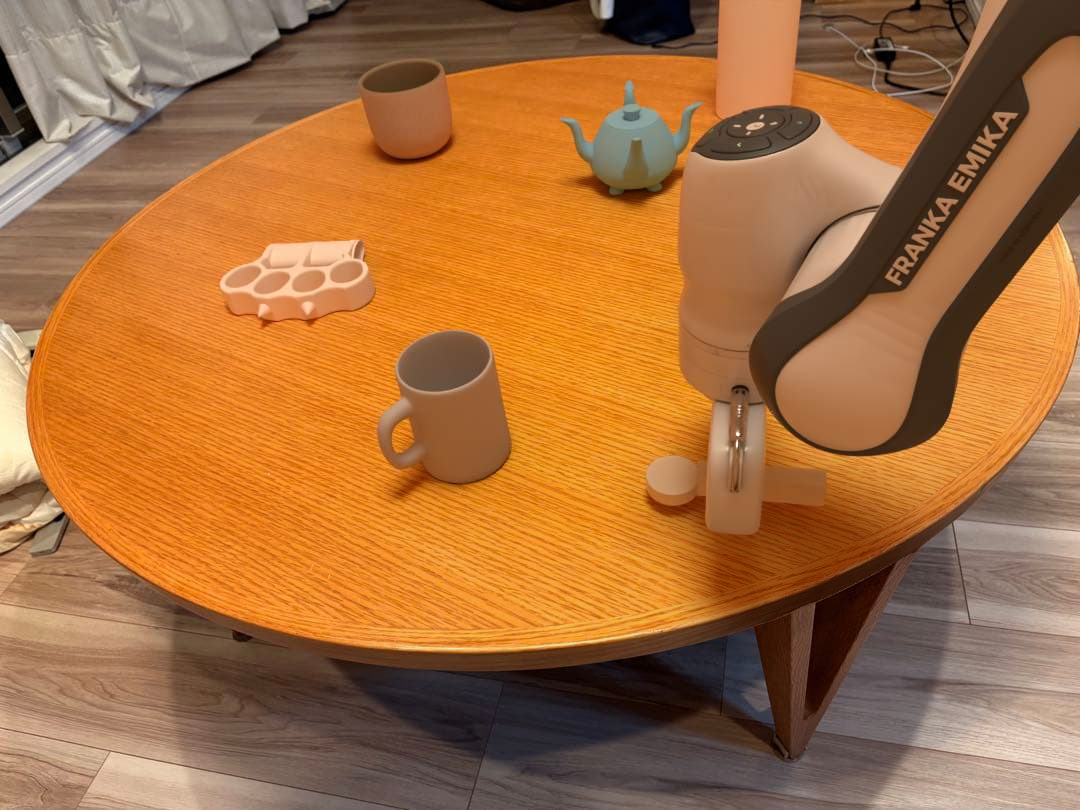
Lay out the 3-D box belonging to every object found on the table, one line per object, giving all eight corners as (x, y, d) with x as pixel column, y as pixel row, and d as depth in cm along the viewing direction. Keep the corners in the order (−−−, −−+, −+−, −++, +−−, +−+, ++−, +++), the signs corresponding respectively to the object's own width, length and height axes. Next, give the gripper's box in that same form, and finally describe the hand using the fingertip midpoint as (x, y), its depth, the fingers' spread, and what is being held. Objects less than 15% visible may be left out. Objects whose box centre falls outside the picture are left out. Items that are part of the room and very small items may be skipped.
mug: (473, 405, 80) (452, 316, 73) (530, 447, 75) (514, 356, 68) (372, 473, 75) (339, 384, 68) (426, 523, 70) (397, 433, 63)
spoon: (822, 477, 67) (826, 457, 66) (824, 519, 64) (827, 499, 63) (649, 464, 71) (648, 445, 69) (643, 503, 68) (642, 484, 66)
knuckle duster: (391, 253, 103) (362, 325, 92) (256, 260, 105) (213, 331, 95) (384, 230, 100) (354, 301, 90) (246, 237, 103) (202, 308, 92)
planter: (414, 123, 130) (398, 53, 123) (474, 136, 124) (461, 64, 117) (359, 157, 124) (339, 86, 116) (420, 173, 118) (402, 99, 110)
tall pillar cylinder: (748, 88, 126) (759, -97, 109) (805, 106, 119) (827, -89, 102) (700, 113, 122) (704, -77, 105) (757, 132, 115) (772, -66, 98)
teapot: (703, 175, 108) (705, 100, 101) (635, 217, 102) (633, 141, 96) (630, 149, 116) (628, 78, 109) (564, 187, 110) (557, 114, 103)
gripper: (790, 456, 49) (774, 589, 58) (789, 262, 63) (776, 394, 72) (683, 448, 50) (684, 579, 60) (706, 261, 65) (704, 390, 74)
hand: (735, 476), depth 66 cm, fingers closed on spoon, 2 cm apart
